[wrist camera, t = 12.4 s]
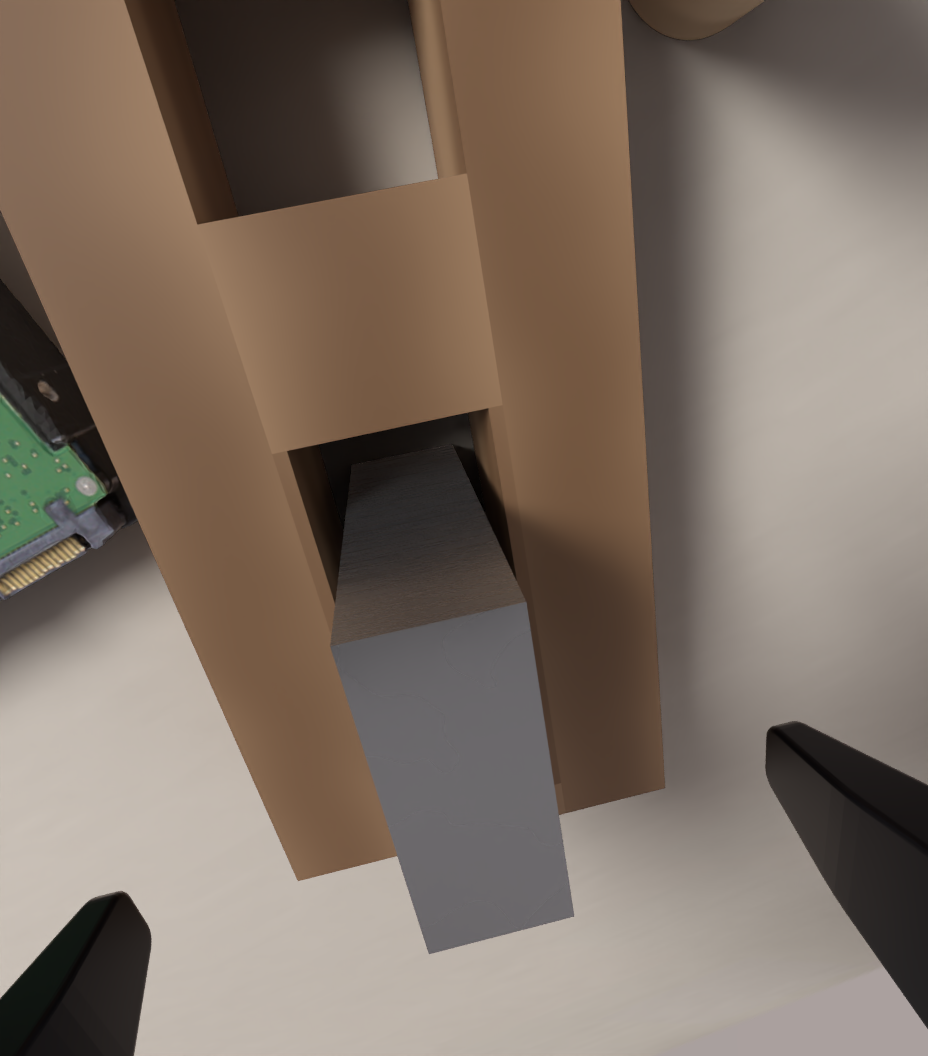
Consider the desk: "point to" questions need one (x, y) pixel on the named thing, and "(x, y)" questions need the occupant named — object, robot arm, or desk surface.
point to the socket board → (355, 366)
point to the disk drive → (48, 459)
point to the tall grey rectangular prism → (448, 701)
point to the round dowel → (692, 16)
